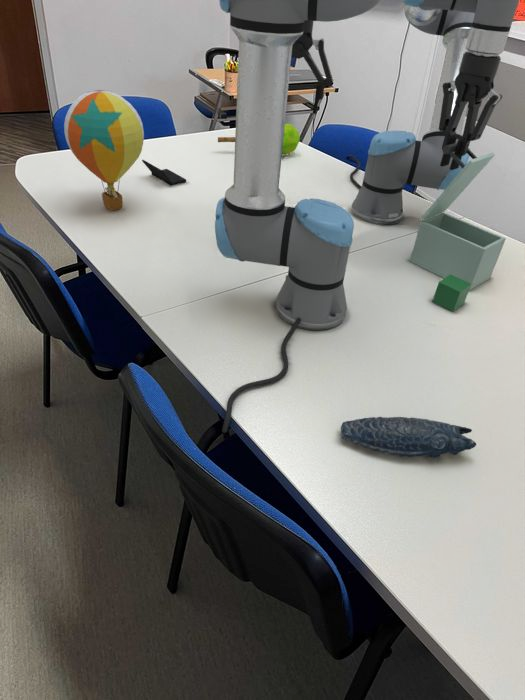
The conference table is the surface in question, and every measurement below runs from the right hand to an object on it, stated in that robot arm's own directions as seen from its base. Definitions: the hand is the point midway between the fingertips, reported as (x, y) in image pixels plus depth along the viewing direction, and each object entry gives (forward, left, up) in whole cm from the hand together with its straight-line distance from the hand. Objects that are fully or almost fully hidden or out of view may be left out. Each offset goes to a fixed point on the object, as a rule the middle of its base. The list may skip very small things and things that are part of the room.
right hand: (449, 166), depth 122 cm
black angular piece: (-65, -52, -24) cm, 87 cm away
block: (+20, -8, -24) cm, 32 cm away
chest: (+8, +3, -24) cm, 25 cm away
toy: (-48, -71, -24) cm, 89 cm away
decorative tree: (-83, -12, -24) cm, 87 cm away
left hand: (-35, -26, +4) cm, 44 cm away
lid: (+4, +1, -4) cm, 6 cm away
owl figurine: (+53, -44, -24) cm, 72 cm away
